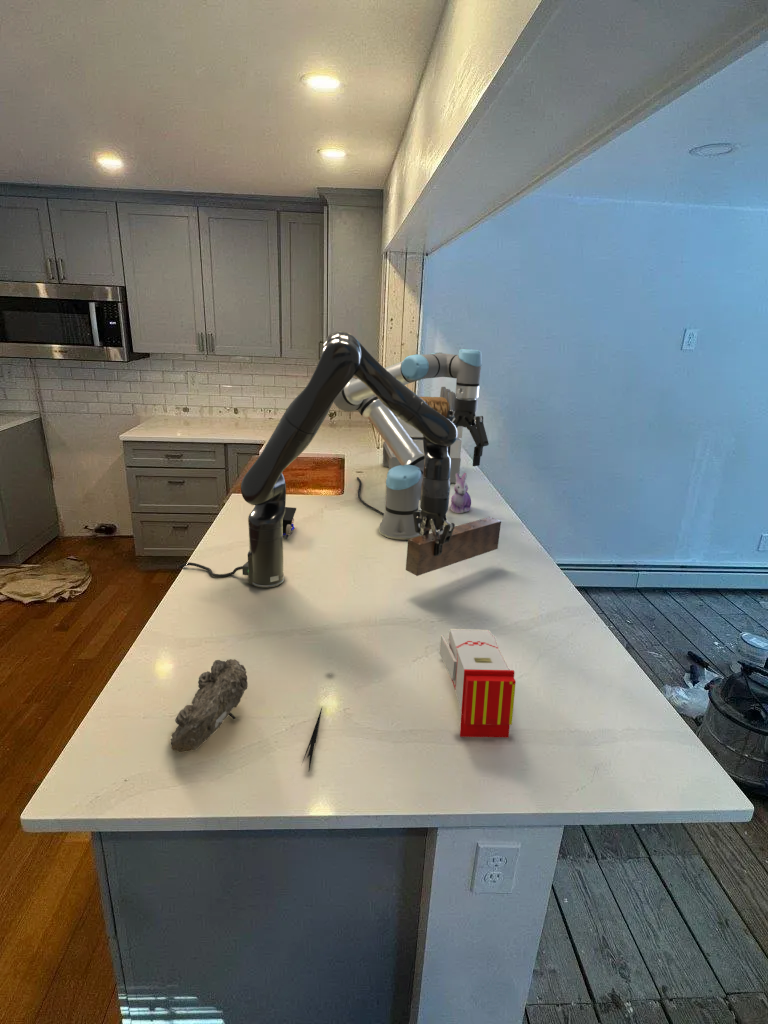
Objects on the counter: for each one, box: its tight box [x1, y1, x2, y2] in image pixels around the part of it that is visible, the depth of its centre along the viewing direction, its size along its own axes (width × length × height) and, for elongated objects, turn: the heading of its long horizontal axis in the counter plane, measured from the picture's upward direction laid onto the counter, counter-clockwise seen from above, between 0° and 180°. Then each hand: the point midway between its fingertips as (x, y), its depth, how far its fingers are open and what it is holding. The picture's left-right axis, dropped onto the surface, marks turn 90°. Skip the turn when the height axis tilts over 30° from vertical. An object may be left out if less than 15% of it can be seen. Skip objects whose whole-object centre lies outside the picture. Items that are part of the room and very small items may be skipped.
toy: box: [438, 628, 517, 738], centre depth 117 cm, size 12×13×30 cm
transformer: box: [381, 386, 464, 484], centre depth 268 cm, size 34×33×41 cm
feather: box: [301, 673, 332, 771], centre depth 108 cm, size 2×28×2 cm
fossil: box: [170, 658, 249, 753], centre depth 106 cm, size 22×10×15 cm
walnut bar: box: [405, 516, 502, 577], centre depth 162 cm, size 34×4×9 cm, turn 131°
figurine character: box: [283, 506, 297, 540], centre depth 194 cm, size 7×8×15 cm
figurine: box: [449, 472, 472, 514], centre depth 224 cm, size 9×10×15 cm
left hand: (430, 551), depth 155 cm, fingers closed on walnut bar, 4 cm apart
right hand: (460, 461), depth 193 cm, fingers open, 13 cm apart
